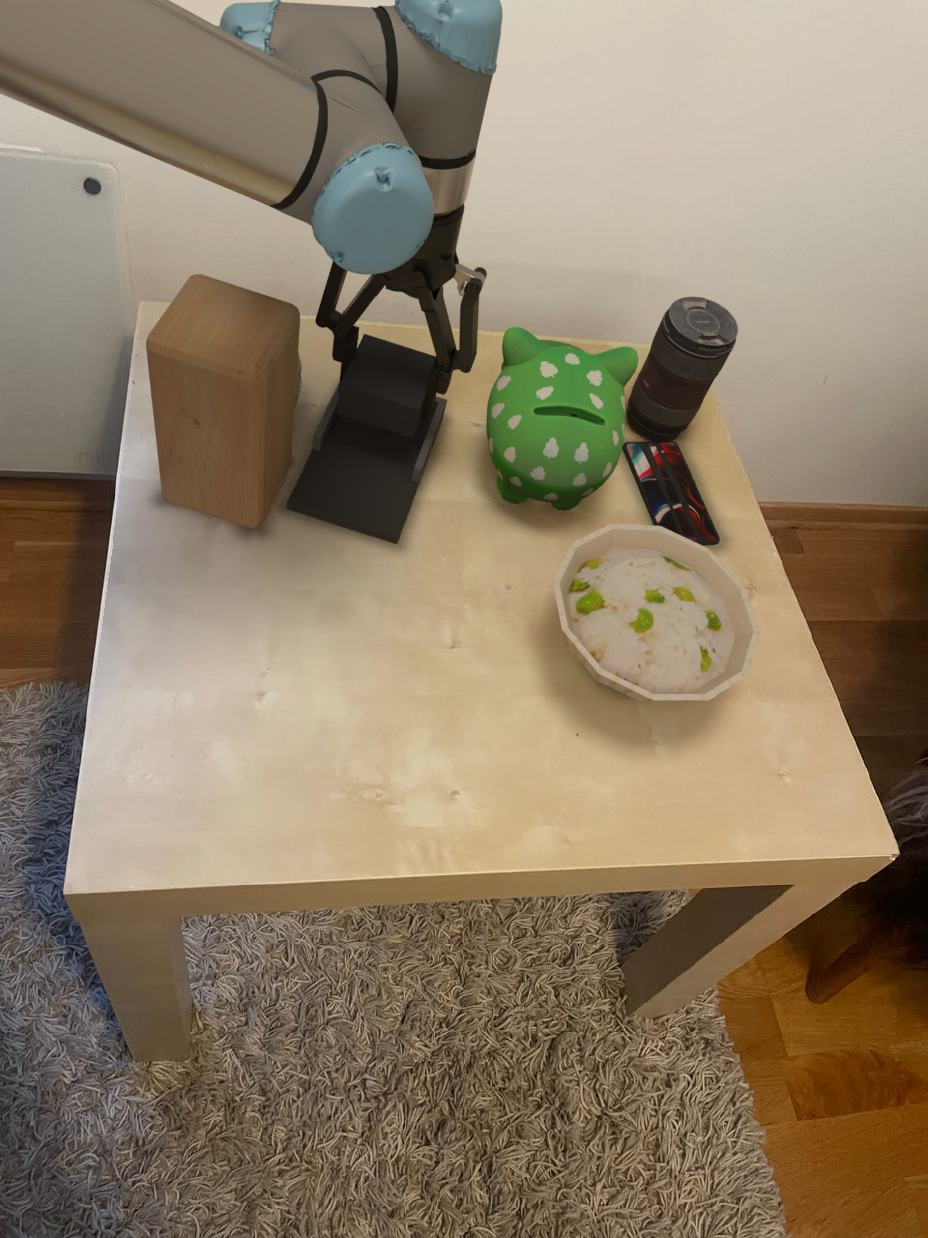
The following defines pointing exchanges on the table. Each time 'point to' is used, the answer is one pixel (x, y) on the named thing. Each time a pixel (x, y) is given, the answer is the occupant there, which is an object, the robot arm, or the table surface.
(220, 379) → the wooden block
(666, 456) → the smartphone
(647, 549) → the bowl
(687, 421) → the camera lens
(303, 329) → the table surface
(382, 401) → the foam pad
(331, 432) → the black tray
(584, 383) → the piggy bank
